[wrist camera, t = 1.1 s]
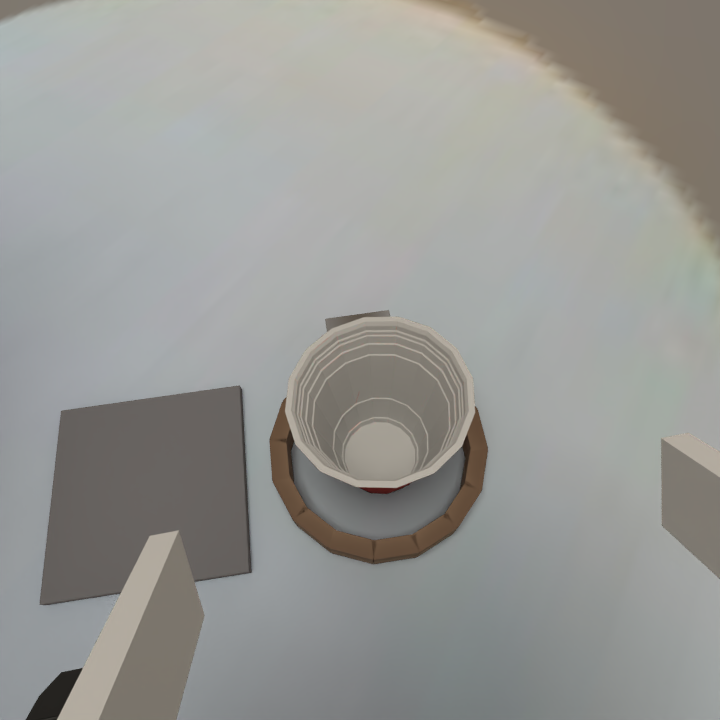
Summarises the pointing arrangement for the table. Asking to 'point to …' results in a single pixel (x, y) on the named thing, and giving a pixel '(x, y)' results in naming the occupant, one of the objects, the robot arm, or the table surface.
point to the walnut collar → (365, 547)
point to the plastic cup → (380, 402)
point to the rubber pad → (147, 490)
